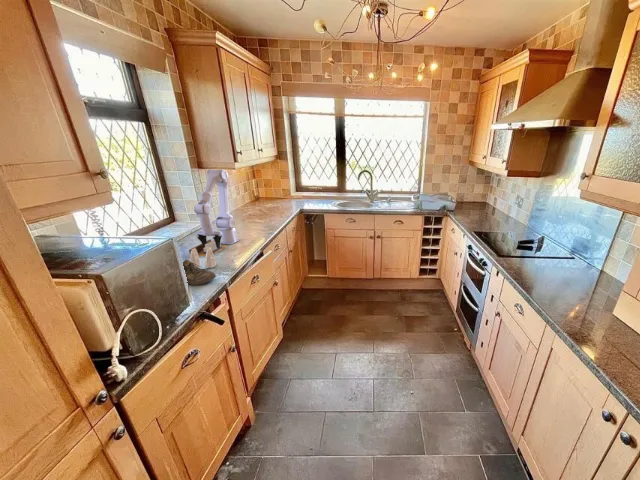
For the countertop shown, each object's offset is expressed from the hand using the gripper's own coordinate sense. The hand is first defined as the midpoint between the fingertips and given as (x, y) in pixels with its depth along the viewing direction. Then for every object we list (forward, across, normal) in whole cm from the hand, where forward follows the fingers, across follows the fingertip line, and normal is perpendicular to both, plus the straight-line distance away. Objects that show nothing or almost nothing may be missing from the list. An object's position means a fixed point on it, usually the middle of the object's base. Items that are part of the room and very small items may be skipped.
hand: (212, 247), depth 183 cm
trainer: (+2, 0, 0) cm, 2 cm away
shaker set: (+2, +12, -28) cm, 30 cm away
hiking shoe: (+2, +16, -44) cm, 47 cm away
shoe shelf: (+2, -2, 0) cm, 2 cm away
